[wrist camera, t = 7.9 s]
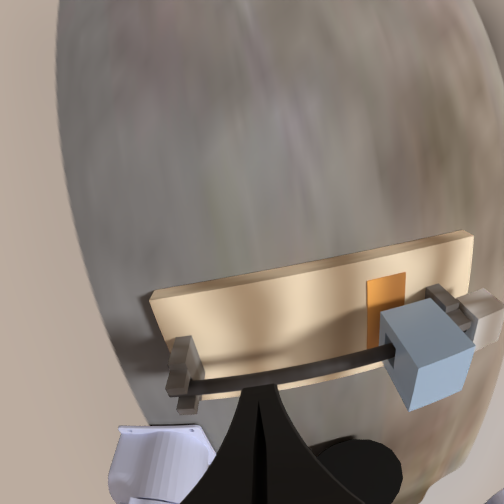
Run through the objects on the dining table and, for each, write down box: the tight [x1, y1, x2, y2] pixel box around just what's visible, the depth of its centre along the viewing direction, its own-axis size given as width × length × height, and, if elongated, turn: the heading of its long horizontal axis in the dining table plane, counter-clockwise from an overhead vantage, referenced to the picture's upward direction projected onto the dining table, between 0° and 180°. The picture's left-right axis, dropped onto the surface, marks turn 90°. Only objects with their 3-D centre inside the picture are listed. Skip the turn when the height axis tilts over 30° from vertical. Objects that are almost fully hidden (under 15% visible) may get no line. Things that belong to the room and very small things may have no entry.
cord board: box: [149, 230, 504, 415], centre depth 19 cm, size 24×10×6 cm, turn 101°
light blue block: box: [379, 298, 476, 412], centre depth 16 cm, size 4×4×6 cm
